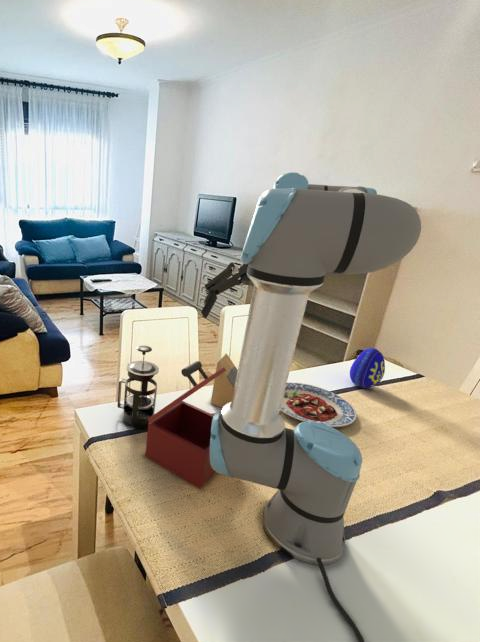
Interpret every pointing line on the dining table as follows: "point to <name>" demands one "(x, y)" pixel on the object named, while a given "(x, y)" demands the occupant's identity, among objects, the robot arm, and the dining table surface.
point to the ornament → (368, 368)
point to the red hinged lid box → (182, 442)
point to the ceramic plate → (316, 405)
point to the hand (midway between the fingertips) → (228, 322)
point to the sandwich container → (224, 382)
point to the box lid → (187, 373)
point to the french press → (139, 392)
